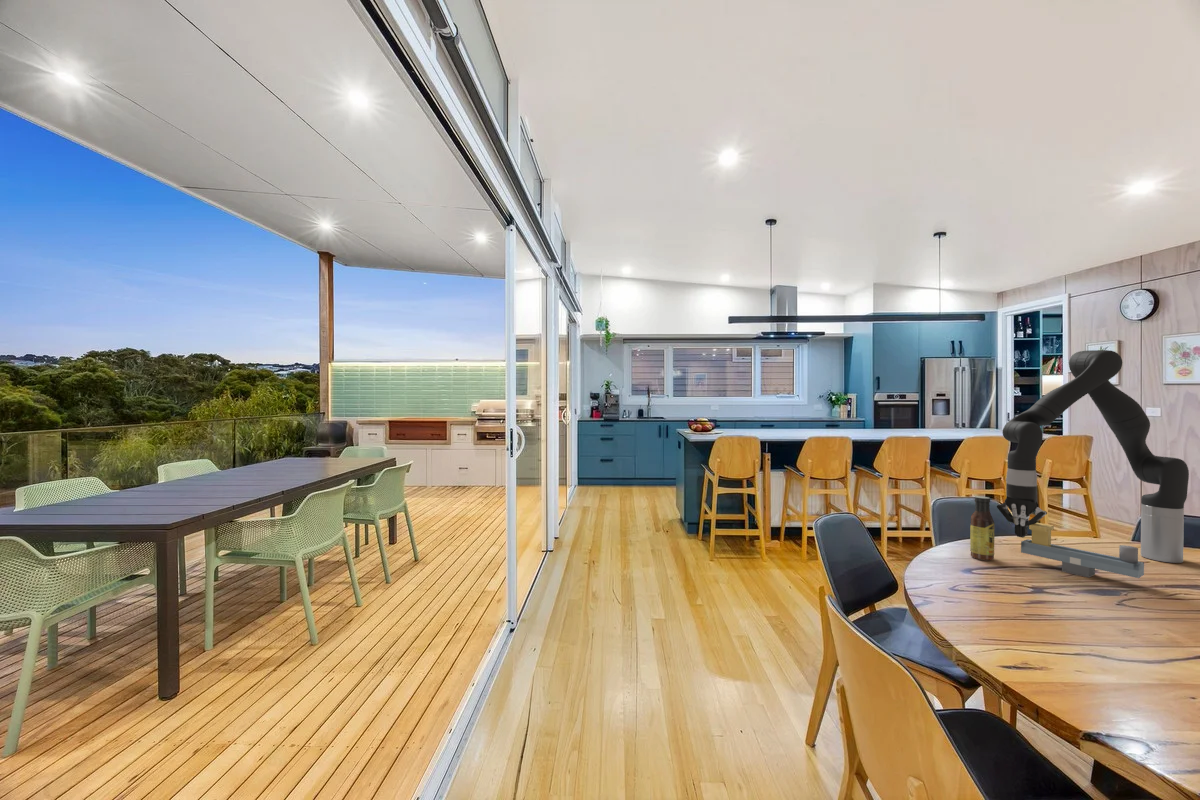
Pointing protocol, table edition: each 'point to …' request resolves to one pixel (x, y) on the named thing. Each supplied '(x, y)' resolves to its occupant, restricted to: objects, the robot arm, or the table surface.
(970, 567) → the table surface
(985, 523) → the sauce bottle
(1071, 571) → the beam
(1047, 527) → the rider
